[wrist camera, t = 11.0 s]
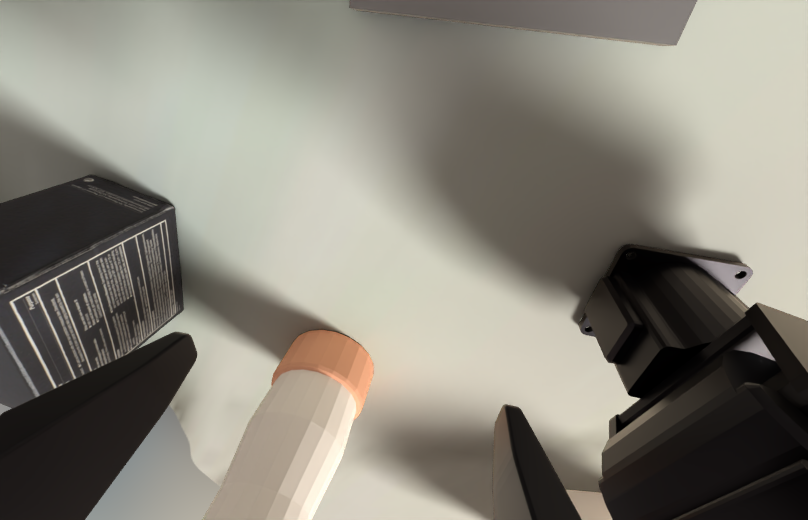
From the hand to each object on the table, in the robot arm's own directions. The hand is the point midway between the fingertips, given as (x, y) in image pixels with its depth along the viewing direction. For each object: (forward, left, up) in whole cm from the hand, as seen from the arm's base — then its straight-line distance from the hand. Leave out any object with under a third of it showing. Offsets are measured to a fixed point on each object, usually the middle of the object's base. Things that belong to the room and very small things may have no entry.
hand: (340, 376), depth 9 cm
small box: (+20, +7, -12) cm, 25 cm away
